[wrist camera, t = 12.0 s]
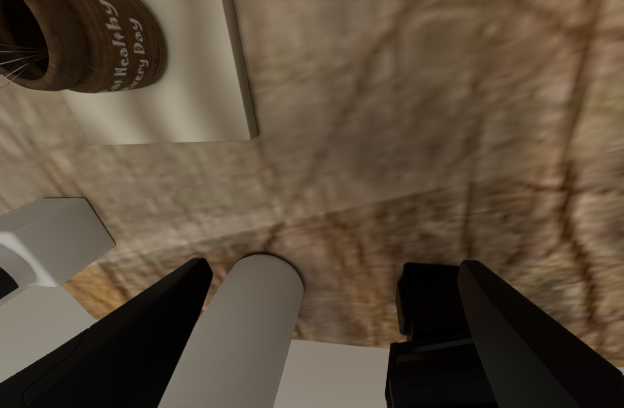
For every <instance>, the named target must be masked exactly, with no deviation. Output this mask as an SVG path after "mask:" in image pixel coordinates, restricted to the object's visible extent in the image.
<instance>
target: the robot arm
mask: <svg viewBox="0 0 624 408" xmlns="http://www.w3.org/2000/svg"><path fill="white" fill-rule="evenodd" d="M408 268H411V269H408ZM212 278H213V272H212V270H211V268H210V266H209V264H208V262H207V260H206V259H205V258H192V259H191V260H189V261H188V262H186V263H185V264H183V265H182V266H180V267H179V268H177V269H176V270H174V271H173V272H171V273H170V274H168V275H167V276H165V277H164V278H162V279H161V280H159V281H158V282H156V283H155V284H153V285H152V286H150V287H149V288H147V289H146V290H144V291H143V292H141V293H140V294H138V295H137V296H135V297H134V298H132V299H131V300H129V301H128V302H126V303H125V304H123V305H122V306H120V307H119V308H117V309H116V310H114V311H113V312H111V313H110V314H108V315H107V316H105V317H104V318H102V319H101V320H99V321H98V322H96V323H95V324H93V325H92V326H90V328H87V329H86V330H84V331H83V332H81V333H80V334H78V335H77V336H75V337H74V338H72V339H71V340H69V341H68V342H66V343H65V344H63V345H61V346H60V347H58V348H57V349H55V350H54V351H52V352H50V353H49V354H47V355H46V356H44V357H43V358H41V359H39V360H37V361H36V362H34V363H33V364H31V365H29V366H28V367H26V368H24V369H23V370H21V371H20V372H18V373H16V374H15V375H13V376H11V377H10V378H8V379H6V380H5V381H3V382H1V383H0V408H158V406H159V404H160V401H161V399H162V397H163V395H164V393H165V390H166V388H167V386H168V384H169V382H170V379H171V377H172V375H173V373H174V371H175V368H176V366H177V364H178V362H179V360H180V358H181V355H182V353H183V351H184V349H185V347H186V344H187V342H188V340H189V338H190V336H191V333H192V331H193V329H194V327H195V325H196V322H197V320H198V318H199V315H200V313H201V310H202V307H203V304H204V301H205V298H206V296H207V293H208V290H209V287H210V284H211V281H212ZM396 307H397V315H398V323H399V331H400V333H401V334H402V335H405V336H407V341H406V342H401V343H397V342H395V343H391V345H390V353H389V362H388V371H387V379H386V388H385V398H386V401H387V408H624V375H623V373H622V372H621V371H620V370H619V369H617V368H616V367H615V366H614V365H612V364H611V363H610V362H608V361H607V360H606V359H604V358H603V357H602V356H601V355H599V354H598V353H597V352H595V351H594V350H593V349H592V348H590V347H589V346H588V345H586V344H585V343H584V342H583V341H581V340H580V339H579V338H577V337H576V336H575V335H574V334H572V333H571V332H570V331H568V330H567V329H566V328H565V327H563V326H562V325H561V324H559V323H558V322H557V321H556V320H554V319H553V318H552V317H550V316H549V315H548V314H547V313H545V312H544V311H543V310H541V309H540V308H539V307H537V306H536V305H535V304H534V303H532V302H531V301H530V300H528V299H527V298H526V297H525V296H523V295H522V294H521V293H519V292H518V291H517V290H516V289H514V288H513V287H512V286H510V285H509V284H508V283H507V282H505V281H504V280H503V279H501V278H500V277H499V276H498V275H496V274H495V273H494V272H492V271H491V270H490V269H489V268H487V267H486V266H485V265H483V264H482V263H481V262H479V261H477V260H463V261H462V262H461V265H460V267H453V266H439V265H425V264H411V263H408V264H405V265H404V267H403V273H402V280H401V281H399V282H398V283H397V291H396Z"/></svg>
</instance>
